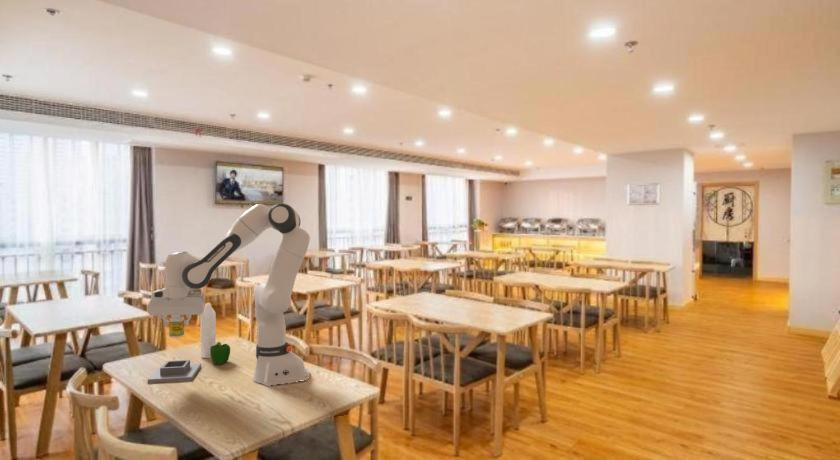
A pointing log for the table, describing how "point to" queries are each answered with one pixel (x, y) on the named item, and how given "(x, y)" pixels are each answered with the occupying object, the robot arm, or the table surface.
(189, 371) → the bottle stand
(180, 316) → the supplement bottle
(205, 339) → the water bottle
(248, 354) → the table surface
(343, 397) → the table surface
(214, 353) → the bell pepper
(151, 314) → the robot arm
